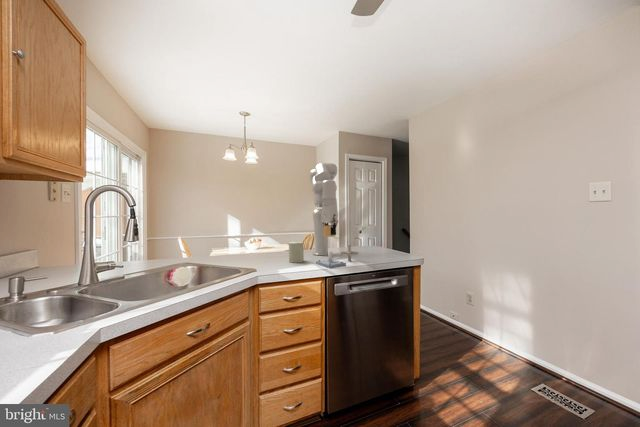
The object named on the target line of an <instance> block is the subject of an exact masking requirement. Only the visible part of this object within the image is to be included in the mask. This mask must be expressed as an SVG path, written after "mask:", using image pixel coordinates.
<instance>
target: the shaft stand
mask: <svg viewBox="0 0 640 427" xmlns="http://www.w3.org/2000/svg"><path fill="white" fill-rule="evenodd" d="M327 256H328V257H327V258H328V259H323V260H322V259H318V260H316V261H315V265H319V266H322V267H324V268H327V269H333V268H340V267H345V266H347V264H346V262H344V261H339V260H337V259H334V258H333V251H332V250H330V251H329V250H328V255H327Z"/></svg>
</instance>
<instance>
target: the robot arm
mask: <svg viewBox="0 0 640 427" xmlns="http://www.w3.org/2000/svg"><path fill="white" fill-rule="evenodd" d="M337 175H338V167H337V165H336V164H335V163H333V162H329V163H328V162H325V163H324V162H323V163H322V162H321V163H320V162H319V163H318V164H317V165H315V168H314V169H311V170H310V171H309V180H310V183H311V188H312V192H313V202H314V206H315V207H316V209H314V210H313V212H312V220H313V230H314V231H313V232H314V236H313V237H314V247H313V249H312V250H313V251H312V255H314V256H328V251H329V237H325V236H324V225H331V227H332V228H331V235H336V236H337V227H338V223H339V211H338V201H337V200H338V199H337V187H338V186H337V183H336V180H335V178H336V176H337Z"/></svg>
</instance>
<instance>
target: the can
mask: <svg viewBox="0 0 640 427" xmlns="http://www.w3.org/2000/svg"><path fill="white" fill-rule="evenodd" d="M304 243H305V242H304V241H297V240H296V241H289V242H288V262H289V263H292V262H298V263H303V262H304V261H305V260H304V259H305V256H304Z"/></svg>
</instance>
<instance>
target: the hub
mask: <svg viewBox="0 0 640 427" xmlns="http://www.w3.org/2000/svg"><path fill="white" fill-rule="evenodd" d="M331 228H332V227H331V224H329V225H324V236H325V237H328V238H331V237H336V236H337V234H336V235H331Z"/></svg>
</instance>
